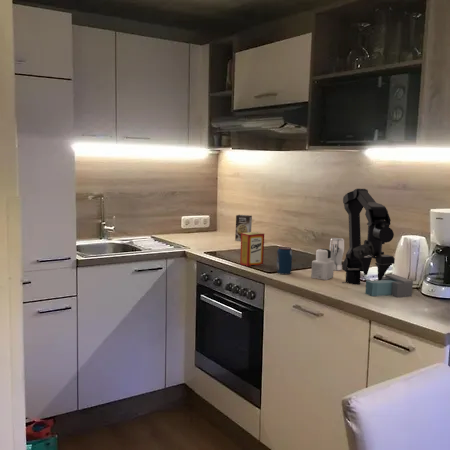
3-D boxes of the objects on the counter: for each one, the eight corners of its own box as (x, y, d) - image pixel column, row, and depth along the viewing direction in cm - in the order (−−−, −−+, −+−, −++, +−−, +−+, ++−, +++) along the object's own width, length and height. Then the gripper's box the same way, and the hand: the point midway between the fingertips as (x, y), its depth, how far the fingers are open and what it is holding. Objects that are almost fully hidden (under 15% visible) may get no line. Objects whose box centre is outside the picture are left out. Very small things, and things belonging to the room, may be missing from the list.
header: (378, 292, 222) (379, 274, 221) (392, 291, 225) (393, 274, 224) (396, 300, 211) (398, 281, 210) (411, 298, 213) (412, 280, 213)
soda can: (294, 273, 254) (295, 247, 253) (285, 275, 249) (287, 249, 247) (281, 270, 259) (282, 245, 257) (273, 272, 253) (274, 247, 252)
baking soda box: (247, 266, 267) (248, 234, 264) (240, 263, 272) (241, 232, 270) (263, 264, 272) (264, 233, 270) (255, 262, 277) (256, 231, 275)
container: (317, 274, 252) (318, 247, 250) (333, 277, 248) (335, 249, 246) (310, 277, 246) (312, 249, 244) (327, 280, 241) (328, 251, 240)
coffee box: (234, 240, 344) (235, 215, 342) (237, 239, 350) (238, 214, 348) (248, 241, 342) (249, 216, 340) (251, 240, 348) (252, 215, 346)
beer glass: (325, 269, 265) (327, 238, 263) (332, 267, 270) (334, 237, 268) (338, 271, 261) (340, 240, 259) (345, 269, 266) (347, 239, 264)
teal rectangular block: (365, 293, 216) (366, 280, 215) (394, 291, 220) (395, 278, 220) (372, 296, 211) (373, 283, 211) (402, 294, 216) (402, 281, 216)
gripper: (343, 235, 217) (341, 273, 219) (371, 242, 200) (368, 284, 202) (367, 234, 221) (365, 272, 223) (396, 241, 203) (393, 282, 206)
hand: (372, 277), depth 213 cm, fingers open, 9 cm apart
